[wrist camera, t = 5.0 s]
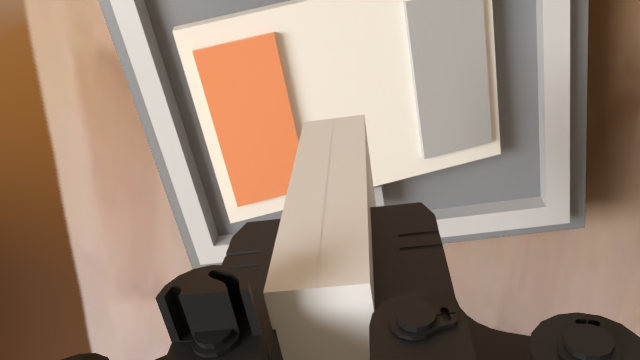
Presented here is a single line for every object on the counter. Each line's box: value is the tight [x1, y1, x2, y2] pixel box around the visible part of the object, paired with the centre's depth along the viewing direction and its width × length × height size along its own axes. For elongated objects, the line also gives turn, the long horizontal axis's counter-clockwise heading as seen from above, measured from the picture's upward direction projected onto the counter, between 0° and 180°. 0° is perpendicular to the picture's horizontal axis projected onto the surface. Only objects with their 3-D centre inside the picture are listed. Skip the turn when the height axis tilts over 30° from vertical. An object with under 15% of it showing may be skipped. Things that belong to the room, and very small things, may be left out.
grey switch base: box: [98, 0, 589, 269], centre depth 25 cm, size 20×18×6 cm
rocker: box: [172, 0, 501, 224], centre depth 22 cm, size 12×8×2 cm, turn 101°
